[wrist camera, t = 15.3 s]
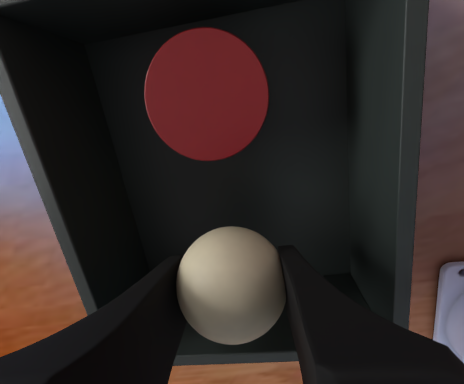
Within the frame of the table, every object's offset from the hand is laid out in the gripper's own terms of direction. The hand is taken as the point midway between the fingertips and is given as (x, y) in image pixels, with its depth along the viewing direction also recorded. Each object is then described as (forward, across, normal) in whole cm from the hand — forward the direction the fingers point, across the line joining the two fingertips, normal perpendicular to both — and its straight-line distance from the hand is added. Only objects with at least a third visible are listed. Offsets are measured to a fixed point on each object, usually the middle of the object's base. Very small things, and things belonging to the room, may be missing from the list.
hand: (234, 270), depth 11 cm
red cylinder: (+4, 0, -7) cm, 8 cm away
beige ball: (-1, 0, 0) cm, 1 cm away
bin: (+4, 0, -4) cm, 6 cm away
